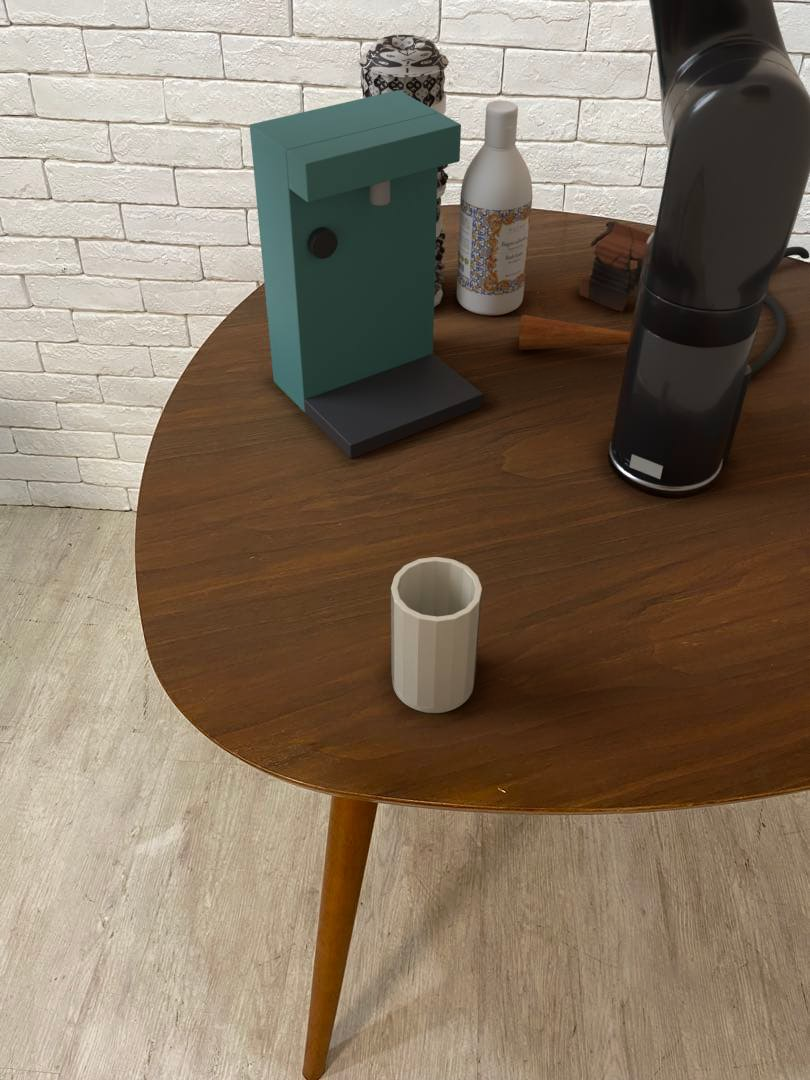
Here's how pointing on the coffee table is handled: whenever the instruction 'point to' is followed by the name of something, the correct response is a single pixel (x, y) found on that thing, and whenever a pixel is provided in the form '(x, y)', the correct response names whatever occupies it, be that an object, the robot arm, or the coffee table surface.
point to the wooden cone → (565, 334)
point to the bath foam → (494, 219)
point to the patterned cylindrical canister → (422, 78)
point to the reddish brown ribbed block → (615, 266)
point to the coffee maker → (357, 266)
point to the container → (434, 633)
